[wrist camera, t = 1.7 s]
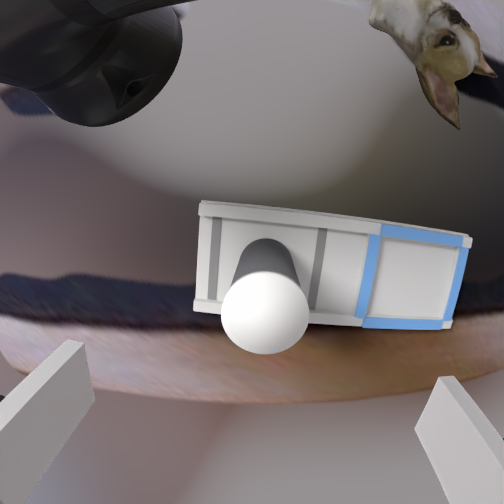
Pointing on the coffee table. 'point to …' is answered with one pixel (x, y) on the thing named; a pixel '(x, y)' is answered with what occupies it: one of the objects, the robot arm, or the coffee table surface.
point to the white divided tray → (339, 264)
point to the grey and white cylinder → (265, 300)
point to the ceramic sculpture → (433, 47)
